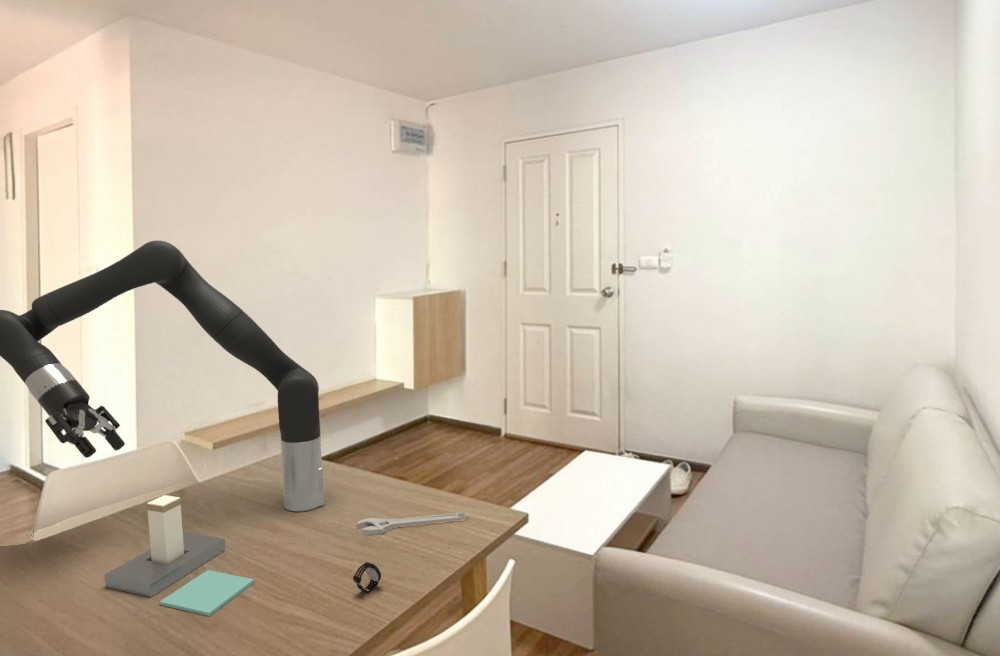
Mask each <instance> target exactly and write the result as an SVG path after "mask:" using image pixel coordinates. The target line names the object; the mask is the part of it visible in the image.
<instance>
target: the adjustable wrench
mask: <svg viewBox="0 0 1000 656" xmlns="http://www.w3.org/2000/svg"><path fill="white" fill-rule="evenodd" d="M459 516H464V517H459ZM466 518H467V519H468V513H466V512H455V513H443V514H435V515H426V516H425V515H424V516H417V517H405V518H397V519H396V518H395V519H388V518H377V517H369V518H364V519H361V520H359V521H357V522H356V529H357V530H360V529H361V530H362V533H361V534H362V535H364V536H375V535H374V534H378V535H380V534H382V533H383V534H386V532H387V531H386V530H388V529H391V528H394V527H400V526H409V525H419V524H427V523H434V522H443V521H451V520H461V519H466ZM365 526H366V527H365ZM368 526H369V527H368ZM362 527H363V528H362ZM391 530H392V529H391ZM388 531H389V530H388ZM379 533H380V534H379ZM383 534H382V535H383Z"/></svg>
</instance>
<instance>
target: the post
mask: <svg viewBox="0 0 1000 656" xmlns="http://www.w3.org/2000/svg"><path fill="white" fill-rule="evenodd" d="M146 511H147V519H148V520H147V521H148V533H149V543H150V544H149V545H150V549H151V559H152V562H157V563H162V564H169V563H171V562H172V561H174V560H176V559H177V558H179V557H181V556H182V555H184V543H183V520H182V519H183V517H182V500H181V497H178V496H174V495H173V496H172V495H167V494H163V495H162V496H160V497H157V498H155V499H153V500H151V501H148V502H146Z"/></svg>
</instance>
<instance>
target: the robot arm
mask: <svg viewBox="0 0 1000 656" xmlns="http://www.w3.org/2000/svg"><path fill="white" fill-rule="evenodd" d="M154 283H155V284H157V285H158V286H160V287H161V288H163V290H165V291H166V292H168V293H169V294H170V295H171V296H173V297H174V298H175V299H176V300H178V301H179V302H180V303H181V304H182V305H183V306H184V307H185V308H186V310H188V312H189V313H190V314H191V315H192V317H193V318H194V320H195V321H196V322H197V323H198V325H200V327H201V328H202V329H203V330H204V331H205V332H206V333H207V335H208V336H210V337H211V339H213V341H215V342H216V343H217V344H218V345H219V346H220V347H221V348H223V350H224V351H226V352H227V353H229V354H230V355H231V356H233V357H234V358H235V359H237V360H239V361H241V362H242V363H244V364H246V365H247V366H249V367H251V368H253V369H255V370H256V371H257V372H258V373H260V374H261V375H262V376H263V377H264V378H265V379H266V380H267V381H268V382H270V383H271V385H272V386H273V387H274V388H275V389H276V391H277V414H278V428H279V433H280V444H281V445H280V447H281V448H280V449H281V464H282V468H281V469H282V470H281V471H282V485H283V487H282V488H283V504H284V509H286V510H287V511H290V512H307V511H310V510H311V511H312V510H314V509H317V508H319V507H323V506H325V491H324V469H323V464H322V443H321V441H322V440H321V422H320V407H319V406H320V401H319V400H320V397H319V392H320V391H319V390H320V386H319V383H318V380H317V378H316V377H315V376H314V375H313V374H312V373H311V372H309V371H308V370H307V369H305V368H304V367H303V366H301V365H300V364H299V363H297V362H296V361H295V360H294V359H292V358H291V357H290V356H288V355H287V354H286V353H285V351H283V350H282V349H281V348H280V347H279V346H278V345H277V343H275V342H274V341H273V340H272V338H271V337H270V336H269V335H268V334H267V333H266V332H265V330H263V329H262V328H261V326H260V325H258V323H256V321H254V320H253V318H252V317H250V315H248V313H246V311H244V310H243V309H242V308H241V307H240V306H238V305H237V304H236V303H235V302H234V301H232V300H231V299H229V298H228V297H227V296H226V295H225V294H223V293H222V292H221V291H219V290H218V289H216V288H215V287H214V286H212V285H211V284H210V283H209V282H208V281H206V280H205V279H204V278H203V276H202V275H201V274H200V273H199V272H198V271H197V270H196V269H195V268H194V266H193V265H192V264H191V263H190V262H189V260H188V259H187V258H186V257H185V255H184V254H183V253H182V251H181V250H180V249H179V248H177V247H176V246H175V245H173V244H172V243H171V242H168V241H165V240H151V241H148V242H146V243H144V244H142V245H141V246H140V247H138V248H137V249H135V250H134V251H132V252H131V253H129V254H127V255H125V256H124V257H123V258H121V259H119V260H117V261H116V262H114V263H113V264H110V265H109V266H106V267H105V268H103V269H100V270H98V271H97V272H94V273H92V274H90V275H88V276H85V277H83V278H81V279H77V280H76V281H74V282H71V283H68V284H66V285H64V286H61V287H59V288H57V289H55V290H51V291H50V292H47V293H45V294H43V295H40V296H39V297H37V298H35V299H34V300H33V301H32V303H31V309H29V310H28V311H26V312H24V313H23V314H20V315H18V314H16V313H15V312H12V311H11V310H6V309H0V357H1V358H2V359H3V360H4V361H5V362H6V363H8V364H9V365H10V366H11V367H12V369H13V370H14V372H15V373H16V374H17V376H18V377H19V378H20V379H21V381H22V382H23V383H24V385H25V386H26V387H27V389H28V391H29V393H30V394H31V395H32V396H33V398H34V399H35V400H36V401H37V402H38V403H39V405H40V406H41V408H42V409H43V410H44V411H45V413H46V414H47V415H48V417H47V418H46V419H45V421H44V422H45V423H46V425H47V427H49V429H50V430H51V432H52V433H53V434H54V435H55V437H56V438H57V440H58V441H59V442H60V443H62V444H66V443H69V444H70V445H74V446H75V448H76V449H77V450H78V451H79V452H80V454H81V455H82V456H83V457H84V458H86V459H87V458H91V457H92V456H93V455H94V454H95V453H97V449H96V448H95V446H94V445H93V444H92V443H91V441H90V440H89V439H88V438H87V436H84V435H85V433H84V432H90V433H93V434H99V435H101V436H102V437H104V439H105V441H107V443H108V444H109V445H110V446H111V448H112V449H113V450H114V451H119V450H120V449H122V448H123V447H124V446H125V445H126V443H125V442H124V440H123V438H121V436H120V435H119V434H118V432H117V429H118V428H119V427H121V424H120V423H119V422H118V421H117V419H115V417H114V416H113V415H112V414H111V413H110V412H109V411H108V410H107V408H105V406H104V405H99V407H97V408H95V409H94V408H93V407H92V406H91V405H89V401H90V400H91V399H90V398H91V397H90V394H88V392H87V391H86V390H85V388H84V387H83V386H82V384H80V383H79V381H78V380H77V378H76V377H75V376H74V375H73V374H72V373H71V372H70V371H69V370H68V369H67V367H65V366H64V365H63V364H62V363H61V361H60V360H59V359H58V358H57V357H56V355H55V354H54V353H53V352H52V350H51V349H50V348H48V347H47V346H45V345H44V344H42V343H40V340H42V339H44V338H45V337H47V336H48V335H49V334H51V333H53V332H54V331H55V330H56V329H58V327H60V326H63V325H66V324H68V323H70V322H72V321H75V320H77V319H78V318H81V317H83V316H85V315H87V314H89V313H91V312H93V311H94V310H96V309H98V308H100V307H101V306H103V305H105V304H106V303H108V302H109V301H111V300H113V299H115V298H116V297H118V296H121V295H123V294H125V293H127V292H129V291H132V290H134V289H137V288H140V287H144V286H148V285H150V284H151V285H152V284H154ZM102 428H103V429H102ZM63 431H64V432H65V434H64V433H63Z"/></svg>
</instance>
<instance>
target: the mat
mask: <svg viewBox="0 0 1000 656" xmlns="http://www.w3.org/2000/svg"><path fill="white" fill-rule="evenodd" d="M254 583H255V579H254V578H250V577H244V576H239V575H234V574H228V573H224V572H220V571H214V570H210V569H207V570H205V571H204V572H203V573H201V574H199V575H198V576H196V577H194V578H193V579H191V580H190V581H188V582H187V583H186V584H184V585H183V586H181V587H180V588H178V589H176V590H175V591H173V592H172V593H171V594H169V595H167V596H166V597H164V598H163V599H161V600H159V606H164V607H167V608H172V609H177V610H182V611H186V612H190V613H194V614H199V615H203V616H206V617H207V616H208V617H211V616H212V615H213V614H214V613H215V612H217V611H218V610H220V609H221V608H222V607H224V605H227V603H229V602H230V601H232V599H234V598H235V597H237V596H238V595H239V594H241V593H242V592H244V591H245V590H246V589H248V588H249V587H250V586H252V584H254Z"/></svg>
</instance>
